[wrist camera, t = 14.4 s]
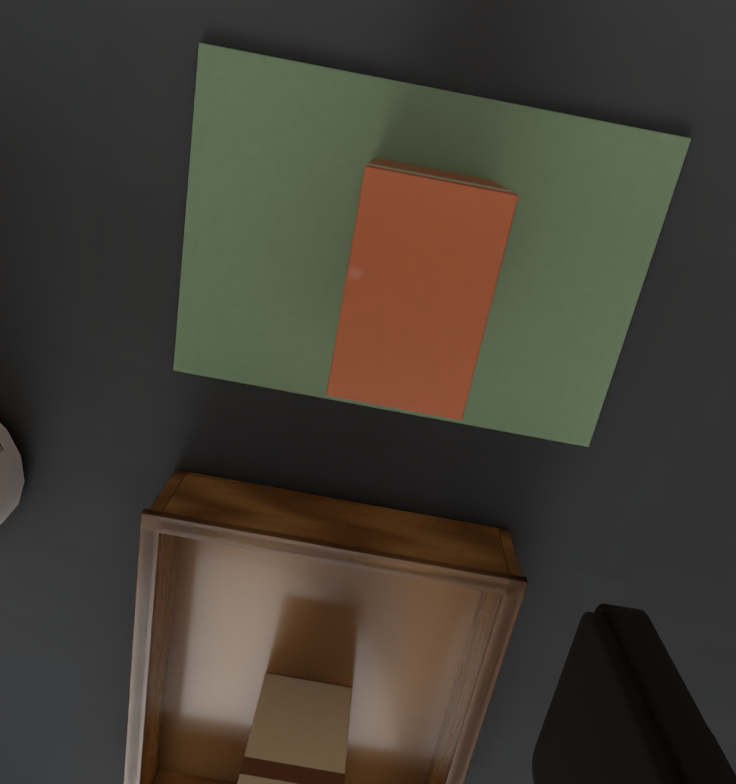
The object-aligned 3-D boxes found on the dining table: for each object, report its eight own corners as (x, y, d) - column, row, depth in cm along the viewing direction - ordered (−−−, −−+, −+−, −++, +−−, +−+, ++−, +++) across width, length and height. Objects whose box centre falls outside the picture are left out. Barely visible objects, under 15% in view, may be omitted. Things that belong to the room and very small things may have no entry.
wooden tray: (147, 770, 42) (119, 841, 38) (172, 465, 34) (140, 512, 30) (425, 818, 42) (427, 893, 38) (513, 527, 34) (528, 582, 30)
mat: (175, 367, 32) (173, 370, 32) (201, 43, 27) (198, 41, 27) (586, 443, 33) (588, 447, 32) (688, 137, 28) (692, 138, 27)
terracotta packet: (341, 339, 31) (325, 396, 24) (373, 156, 28) (364, 164, 21) (449, 360, 31) (462, 421, 24) (492, 179, 28) (520, 194, 22)
